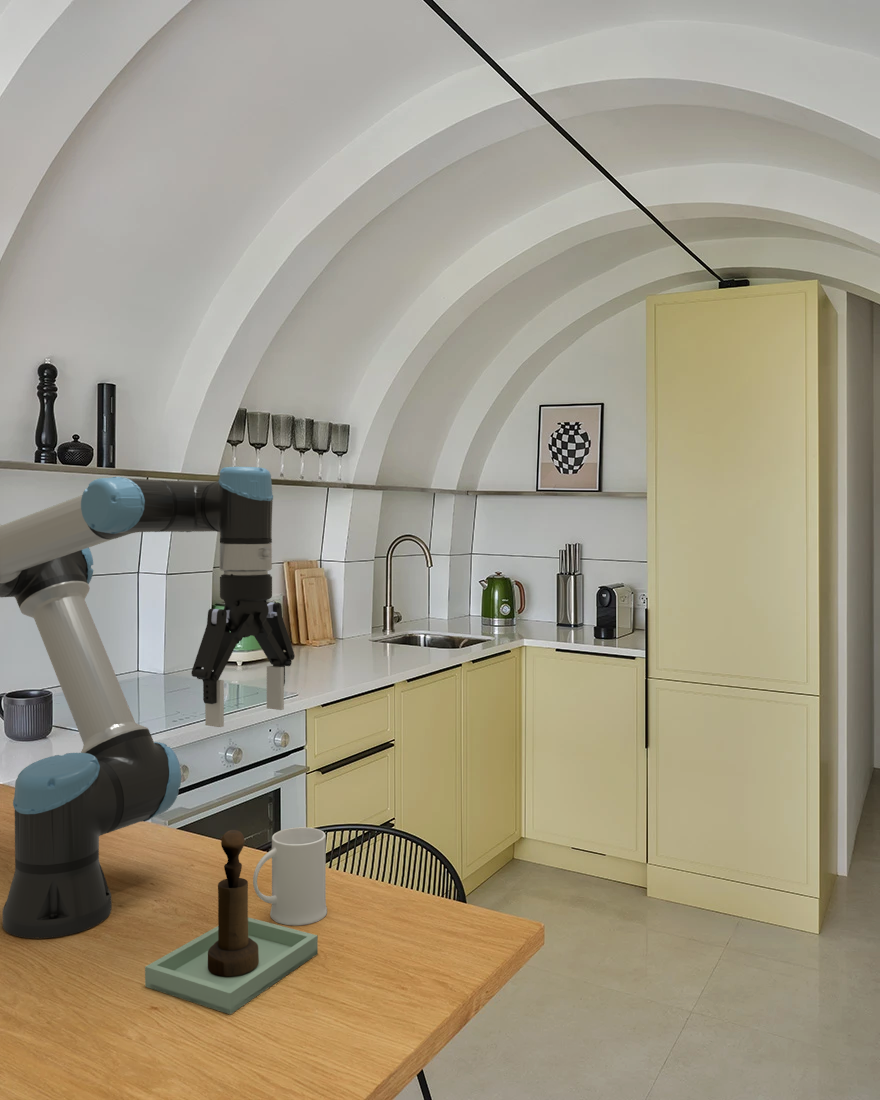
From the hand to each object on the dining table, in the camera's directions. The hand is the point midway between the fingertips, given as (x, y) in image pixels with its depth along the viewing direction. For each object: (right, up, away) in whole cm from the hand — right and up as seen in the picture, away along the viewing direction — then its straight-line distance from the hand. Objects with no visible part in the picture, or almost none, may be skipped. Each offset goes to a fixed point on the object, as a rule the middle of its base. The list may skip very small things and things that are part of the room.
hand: (246, 717), depth 138 cm
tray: (+1, -31, -13) cm, 34 cm away
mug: (+6, -31, +4) cm, 32 cm away
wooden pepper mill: (+1, -31, -13) cm, 34 cm away
